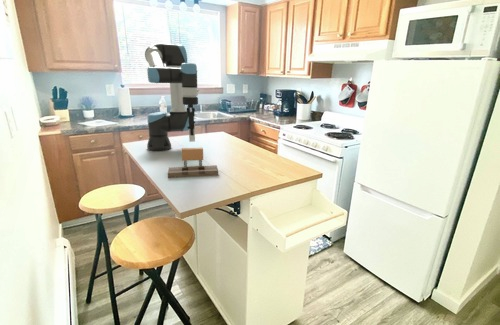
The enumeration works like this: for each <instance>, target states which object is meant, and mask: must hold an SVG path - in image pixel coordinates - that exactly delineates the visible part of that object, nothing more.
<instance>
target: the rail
mask: <svg viewBox="0 0 500 325" xmlns="http://www.w3.org/2000/svg"><path fill="white" fill-rule="evenodd" d="M209 176H211V177H213V176H219V168H218V165H215V164H214V165H202V166H199V165H198V166H197V165H196V166H193V165H191V166H187V167H184V166H171V167H168V170H167V179H172V178H173V179H174V178H175V179H177V178H188V177H190V178H194V177H195V178H196V177H209Z"/></svg>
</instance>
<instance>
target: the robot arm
mask: <svg viewBox="0 0 500 325" xmlns="http://www.w3.org/2000/svg"><path fill="white" fill-rule="evenodd" d="M144 58H145V61H146V62H147V63H148V67H147V68H146V71H147V79H148V82H149V83H152V84H169V88H170V89H169V92H170V100H171V101H170V104H171V108H170V110H169V113H167V112H166V111H158V112H151V113H149V114H148V115H147V127H148V128H147V129H148V141H147V144H146V147H147V150H148V151H152V152H163V150H164V151H167V150H170V149H171V148H172V143H171V140H170V139H169V135H168V134H169V133H176V132H187V131H188V137H189V138H188V141H189V142H192V143H193V142H196V135H195V134H196V132H195V130H196V128H195V123H196V122H195V117H196V116H195V112H196V109H195V107H194V106H197V105H199V97H198V95H199V93H198V92H200V90H199V89H198V70H197V69H198V68H197V64H196V63H192V62H191V63H190V62H188V54H187V50H186V48H185V46H184V45H183V44H178V43H161V42H158V43H157V42H156V43H152V44H151V45H149V46H148V47H147V48H146V49H145V52H144ZM186 106H187V108H186Z"/></svg>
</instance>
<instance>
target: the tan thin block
mask: <svg viewBox="0 0 500 325" xmlns="http://www.w3.org/2000/svg"><path fill="white" fill-rule="evenodd" d="M203 160H204V147H182V148H181V161H182V162H183V167H188V162H187V161H198V166H203Z"/></svg>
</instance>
